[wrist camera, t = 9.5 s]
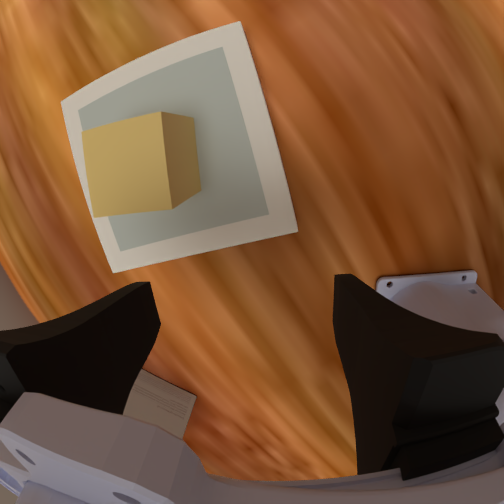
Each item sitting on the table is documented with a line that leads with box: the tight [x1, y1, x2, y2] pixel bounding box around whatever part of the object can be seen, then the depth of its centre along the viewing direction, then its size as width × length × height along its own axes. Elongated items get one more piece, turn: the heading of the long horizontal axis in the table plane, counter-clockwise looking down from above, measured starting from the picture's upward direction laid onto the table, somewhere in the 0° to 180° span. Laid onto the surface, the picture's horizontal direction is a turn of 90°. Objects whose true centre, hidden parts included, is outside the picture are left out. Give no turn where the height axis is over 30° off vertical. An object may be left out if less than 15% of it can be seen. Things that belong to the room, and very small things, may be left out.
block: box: [81, 111, 201, 218], centre depth 16 cm, size 5×5×5 cm
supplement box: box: [123, 369, 197, 439], centre depth 23 cm, size 7×7×13 cm
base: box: [61, 21, 298, 273], centre depth 19 cm, size 14×14×2 cm
